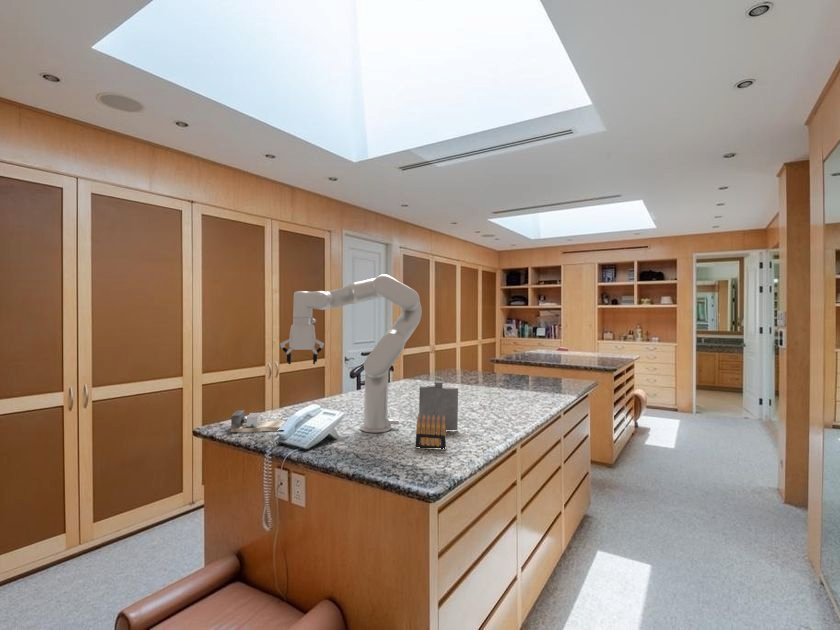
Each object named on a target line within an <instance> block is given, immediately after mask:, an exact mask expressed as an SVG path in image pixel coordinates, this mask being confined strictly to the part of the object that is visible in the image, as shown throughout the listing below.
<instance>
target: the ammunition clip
mask: <svg viewBox="0 0 840 630" xmlns="http://www.w3.org/2000/svg"><path fill="white" fill-rule="evenodd" d="M416 418H417V419H416V428H415V430H416V431H415V432H416V434H415V446H414V447H420V448H441V449H443V448H444V449H445V447H446V448H447V443H446V442H447V441H446V438H447V437H446V433H447V432H446V426H445V417H444V415H443V417H442V426H440V416H439V415H438V417H437V425H436V426H435V416H434V415H433V417H432V425H430V416H429V414H428V417H427V425H426V424H425V415H424V414H423V417H422V426H421V422H420V414H419V413H418V414H417V417H416Z"/></svg>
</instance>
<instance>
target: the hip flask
mask: <svg viewBox="0 0 840 630" xmlns="http://www.w3.org/2000/svg"><path fill="white" fill-rule="evenodd" d="M433 384H434V385H427V386H426V385H424V386H422V385H421V386H419V398H418V401H419V402H418V403H419V405H418V414H420V422H421V426H422V417H423V414H424V415H425V424H426V425H427V417H428V414H429V416H430V425H432V417H433V415H434V416H435V426H436V425H437V417H438V415H439V416H440V426H442V417H443V415H444V417H445V426H446V430H457V431H458V425H459V424H458V419H459V418H458V417H459V415H458V414H459V412H458V411H459V409H458V408H459V387H445V386H444V387H443V385H444V381H434V383H433Z"/></svg>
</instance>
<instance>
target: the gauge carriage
mask: <svg viewBox="0 0 840 630" xmlns="http://www.w3.org/2000/svg"><path fill="white" fill-rule="evenodd" d="M261 414H262V413H261V412H249V414H248V415H247V416H244V417H242V418H241V423H247V427H250V428H252V427H258V425H259V424H260V422H261V419H262V418H261Z"/></svg>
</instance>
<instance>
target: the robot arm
mask: <svg viewBox="0 0 840 630" xmlns="http://www.w3.org/2000/svg"><path fill="white" fill-rule="evenodd" d="M380 298H381V299H383V298H384V299H386V300H387V301H390V302H391V303H393V304H395V305H396V306H398V307H400V308H401V312H400V314H399V316H398V317H397V319H396V320H395V322H393V324H392V326H391V327H390V328H389V329H388V331H387V332H385V333H384V334H383V336H382V337H381V338H380V340H379V341H378V342H377V344H376V345H375V346H374V348H373V349H372V351H371V352H370V353H369V354H368V355H367V356H366V358H365V360H364V362H363V370H364V373H365V375H364V402H363V403H364V406H363V407H364V410H363V416H364V417H363V424H361V425H360V427H359V428H360V430H361V431H362V432H366V433H371V434H372V433H374V434H375V433H378V434H379V433H385V432H389V431H391V429H392V425H395V426H396V425H399V423H400V422H399V421H400V420H399V419H395V418H389V417H388V409H389V408H388V404H389V400H388V399H389V396H388V395H389V370H390V368H391V367H392V366H393V364H394V363H395V362H396V360H397V359H398V358H399V356H400V355H401V354H402V352H403V351H404V350H405V346H406V343H407V341H408V340H410V338H411V336H412V334H413V333H414V332H415V331H416V329H417V327H418V325H420V322H421V319H422V314H423V313H422V312H423V311H422V310H423V309H422V304H421V302H420V294H419V293H418V292H417V291H416V290H415V289H413V288H411V286H410V287H409V286H408V285H406V284H405V283H402V282H400V281H399V280H397V279H396V278H394V277H392V276H390V275H389V274H385V273H384V274H380V275H378V276H376V277H371V278H368V279H364V280H358V281H355V282H352V283H350V284H348V285H346V286H343V287H341V288H337V289H333V290H329V291H325V290H317V291H306V290H298V291H294V293H293V307H292V308H293V312H292V313H293V314H292V316H293V318H292V321H293V322H292V324H291V325H290V330H289V338H288V339H286V340H284V341H282V342H280V343H279V346H280V347H281V349H282V351H283V352H284V353H285V354H286V363H288V364H287V365H291V364H292V354H291V353H292V351H294V350H296V351H297V350H299V351H300V350H301V351H302V350H304V351H305V350H307V351H309V350H310V351H312V353H313V355H312V364H313V365H315V364H316V363H317V362H318V354H319V353H320V352H321V351H322V350H323V348H324V345H325V343H324V342H322V341H320V340H319V339H317V338H316V329H315V325H313V324H314V323H317V319H316V318H313V317H314V316H313V309H315V310H321V311H326V310H331V309H335V308H339V307H340V308H341V307H343V306H348V305H355V304H359V303H364V302H368V301H373V300H377V299H380ZM286 344H288V347H289V348H288V349H287V347H286V346H285V345H286ZM316 344H317V345H319V347H318V348H316Z"/></svg>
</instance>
